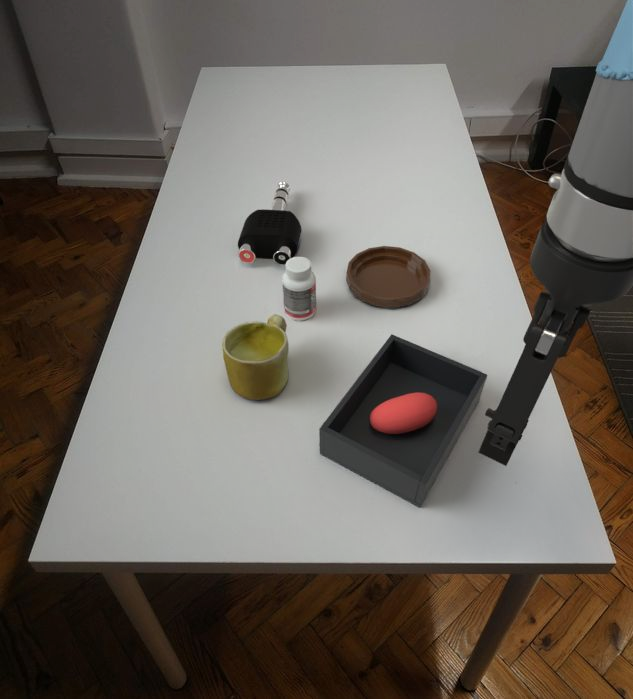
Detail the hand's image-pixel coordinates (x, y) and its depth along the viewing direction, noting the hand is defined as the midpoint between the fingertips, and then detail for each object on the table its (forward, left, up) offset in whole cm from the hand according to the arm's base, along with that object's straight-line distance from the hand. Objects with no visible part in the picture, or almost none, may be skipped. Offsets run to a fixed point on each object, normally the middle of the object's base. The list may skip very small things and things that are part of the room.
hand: (517, 406), depth 56 cm
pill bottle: (+38, -16, -19) cm, 45 cm away
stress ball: (+13, -4, -18) cm, 22 cm away
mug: (+35, -2, -19) cm, 40 cm away
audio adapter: (+55, -33, -19) cm, 67 cm away
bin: (+13, -4, -18) cm, 23 cm away
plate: (+29, -30, -18) cm, 46 cm away
